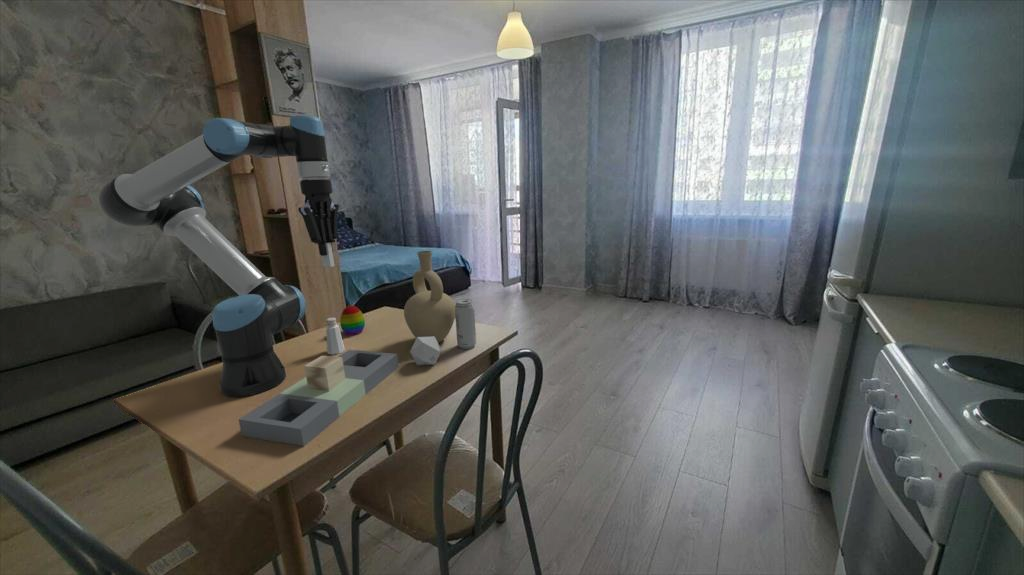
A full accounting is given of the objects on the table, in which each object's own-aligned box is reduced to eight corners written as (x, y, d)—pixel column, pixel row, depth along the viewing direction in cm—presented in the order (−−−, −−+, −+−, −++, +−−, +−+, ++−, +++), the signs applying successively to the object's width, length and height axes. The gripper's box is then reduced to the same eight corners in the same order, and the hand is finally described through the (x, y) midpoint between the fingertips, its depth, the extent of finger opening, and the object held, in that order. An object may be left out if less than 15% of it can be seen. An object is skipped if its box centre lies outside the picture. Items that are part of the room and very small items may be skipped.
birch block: (308, 388, 98) (304, 365, 97) (325, 377, 104) (321, 355, 102) (329, 391, 96) (325, 368, 95) (345, 379, 102) (342, 357, 101)
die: (427, 374, 113) (444, 344, 114) (401, 359, 114) (418, 329, 115) (433, 371, 122) (449, 343, 123) (408, 357, 122) (424, 329, 123)
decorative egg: (370, 329, 148) (367, 303, 145) (354, 337, 141) (350, 310, 138) (353, 327, 151) (349, 301, 149) (336, 334, 144) (332, 308, 141)
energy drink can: (455, 344, 132) (452, 300, 128) (473, 341, 134) (470, 297, 130) (460, 351, 127) (456, 305, 123) (478, 347, 129) (476, 302, 125)
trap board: (242, 435, 87) (238, 419, 86) (351, 361, 122) (349, 349, 120) (303, 446, 83) (300, 429, 82) (398, 366, 117) (397, 353, 116)
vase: (398, 341, 136) (388, 252, 129) (440, 328, 147) (433, 245, 139) (423, 355, 124) (414, 259, 117) (467, 340, 135) (462, 251, 127)
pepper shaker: (340, 354, 127) (335, 321, 124) (323, 355, 127) (318, 321, 124) (348, 347, 132) (343, 315, 129) (331, 348, 132) (326, 316, 130)
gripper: (309, 178, 100) (323, 271, 106) (343, 178, 112) (354, 262, 119) (284, 179, 102) (300, 271, 108) (320, 179, 114) (332, 261, 121)
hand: (328, 266), depth 114 cm, fingers closed
